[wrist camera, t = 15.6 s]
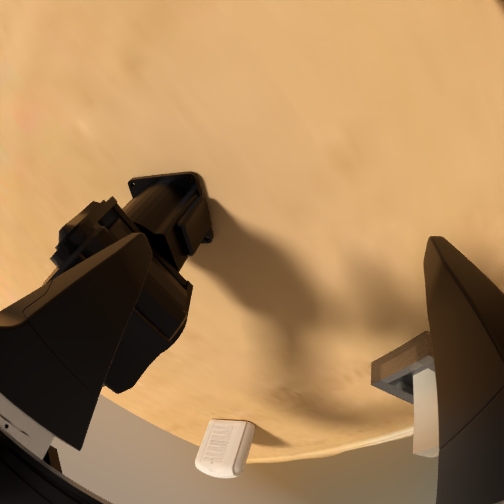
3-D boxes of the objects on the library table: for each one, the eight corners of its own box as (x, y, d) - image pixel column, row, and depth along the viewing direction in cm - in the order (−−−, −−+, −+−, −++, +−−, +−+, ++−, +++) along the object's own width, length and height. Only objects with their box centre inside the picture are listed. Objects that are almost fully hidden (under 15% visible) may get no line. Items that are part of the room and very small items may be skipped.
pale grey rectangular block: (412, 375, 32) (413, 453, 24) (434, 364, 29) (438, 445, 22) (429, 385, 32) (431, 457, 25) (450, 375, 30) (455, 450, 23)
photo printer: (219, 425, 59) (202, 475, 50) (207, 417, 58) (188, 469, 48) (259, 427, 54) (243, 483, 45) (248, 418, 53) (230, 477, 43)
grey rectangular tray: (371, 362, 33) (370, 384, 31) (425, 331, 28) (428, 354, 26) (433, 394, 35) (434, 413, 33) (480, 371, 30) (483, 390, 28)
